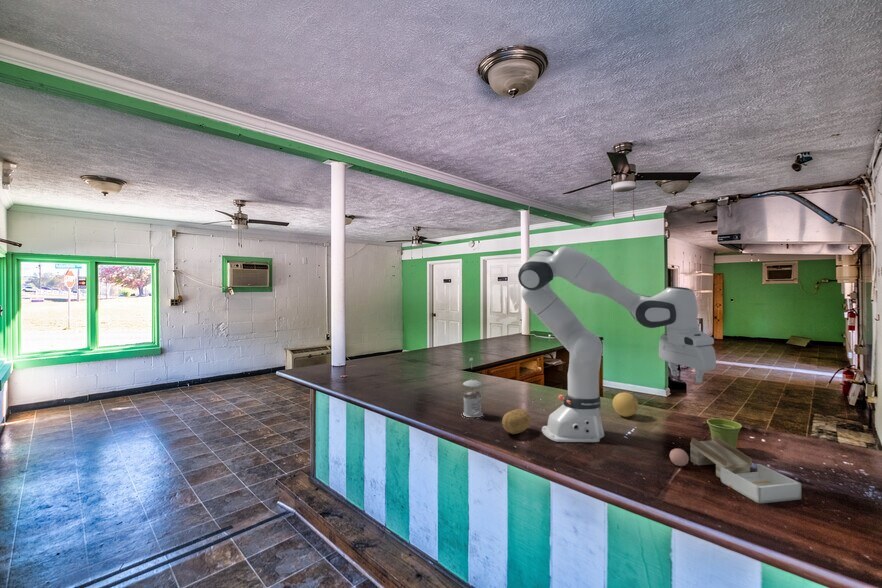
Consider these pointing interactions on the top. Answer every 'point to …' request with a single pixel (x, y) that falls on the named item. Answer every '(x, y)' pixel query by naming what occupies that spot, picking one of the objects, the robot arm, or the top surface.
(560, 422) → the robot arm
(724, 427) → the plant pot
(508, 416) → the potato
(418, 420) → the top surface
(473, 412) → the french press
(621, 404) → the stress ball
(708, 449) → the launch ramp
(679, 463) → the rubber ball
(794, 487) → the tray
